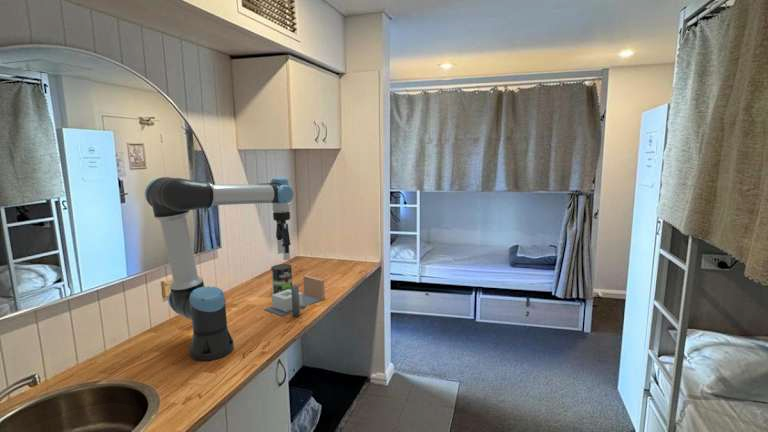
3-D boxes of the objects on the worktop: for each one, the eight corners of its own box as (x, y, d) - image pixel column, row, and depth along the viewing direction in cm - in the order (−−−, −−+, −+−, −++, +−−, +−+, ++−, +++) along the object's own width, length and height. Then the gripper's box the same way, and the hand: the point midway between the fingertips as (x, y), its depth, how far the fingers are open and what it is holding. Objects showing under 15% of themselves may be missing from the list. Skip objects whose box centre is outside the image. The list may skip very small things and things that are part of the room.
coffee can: (296, 292, 214) (295, 266, 212) (278, 297, 208) (276, 270, 205) (287, 288, 222) (285, 262, 220) (269, 292, 215) (267, 266, 213)
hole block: (286, 312, 187) (285, 299, 186) (272, 307, 193) (271, 294, 192) (302, 305, 195) (302, 293, 194) (289, 300, 201) (288, 289, 200)
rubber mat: (281, 316, 184) (281, 315, 184) (264, 309, 192) (264, 309, 192) (324, 299, 204) (324, 298, 204) (307, 293, 212) (307, 293, 212)
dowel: (295, 318, 182) (294, 287, 180) (291, 316, 184) (289, 286, 182) (301, 315, 184) (299, 285, 182) (296, 314, 186) (295, 284, 184)
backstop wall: (321, 300, 203) (320, 280, 201) (304, 294, 211) (303, 276, 209) (324, 299, 204) (323, 279, 203) (307, 293, 212) (306, 275, 211)
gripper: (295, 214, 179) (298, 261, 182) (284, 207, 201) (286, 249, 204) (278, 215, 176) (280, 263, 179) (268, 208, 198) (270, 251, 201)
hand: (283, 256), depth 192 cm, fingers open, 13 cm apart
